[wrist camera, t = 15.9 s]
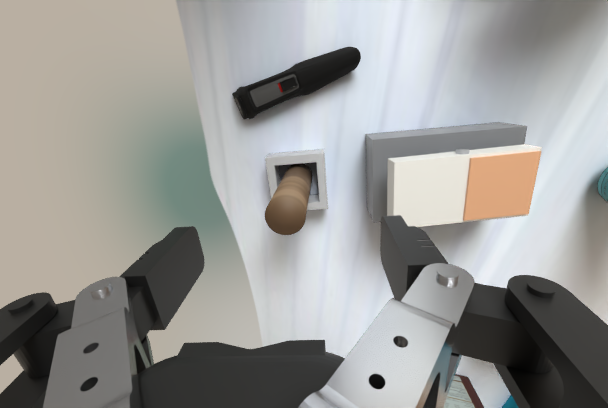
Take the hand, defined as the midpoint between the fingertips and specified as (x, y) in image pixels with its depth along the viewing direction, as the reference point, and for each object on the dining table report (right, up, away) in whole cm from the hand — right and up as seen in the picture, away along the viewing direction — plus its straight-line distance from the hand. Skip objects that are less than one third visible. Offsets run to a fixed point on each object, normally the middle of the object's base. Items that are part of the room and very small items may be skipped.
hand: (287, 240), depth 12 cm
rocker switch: (+17, +3, +16) cm, 24 cm away
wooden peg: (0, +5, +26) cm, 26 cm away
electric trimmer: (-1, +16, +22) cm, 28 cm away
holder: (0, +5, +26) cm, 26 cm away
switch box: (+17, +6, +24) cm, 30 cm away
